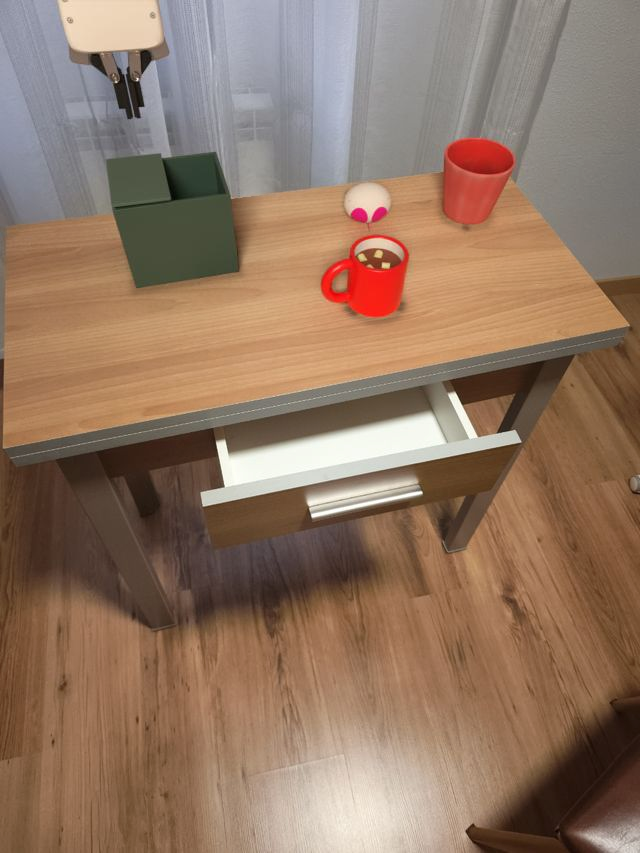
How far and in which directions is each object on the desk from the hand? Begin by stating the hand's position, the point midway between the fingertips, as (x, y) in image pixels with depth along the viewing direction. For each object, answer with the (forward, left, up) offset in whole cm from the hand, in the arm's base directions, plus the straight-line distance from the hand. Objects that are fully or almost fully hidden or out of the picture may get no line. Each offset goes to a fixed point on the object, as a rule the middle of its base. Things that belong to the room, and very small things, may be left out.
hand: (133, 113), depth 68 cm
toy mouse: (+32, +2, -22) cm, 39 cm away
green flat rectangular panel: (-1, 0, -9) cm, 9 cm away
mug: (+25, -16, -22) cm, 37 cm away
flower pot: (+49, +1, -22) cm, 54 cm away
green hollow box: (+2, 0, -21) cm, 22 cm away
